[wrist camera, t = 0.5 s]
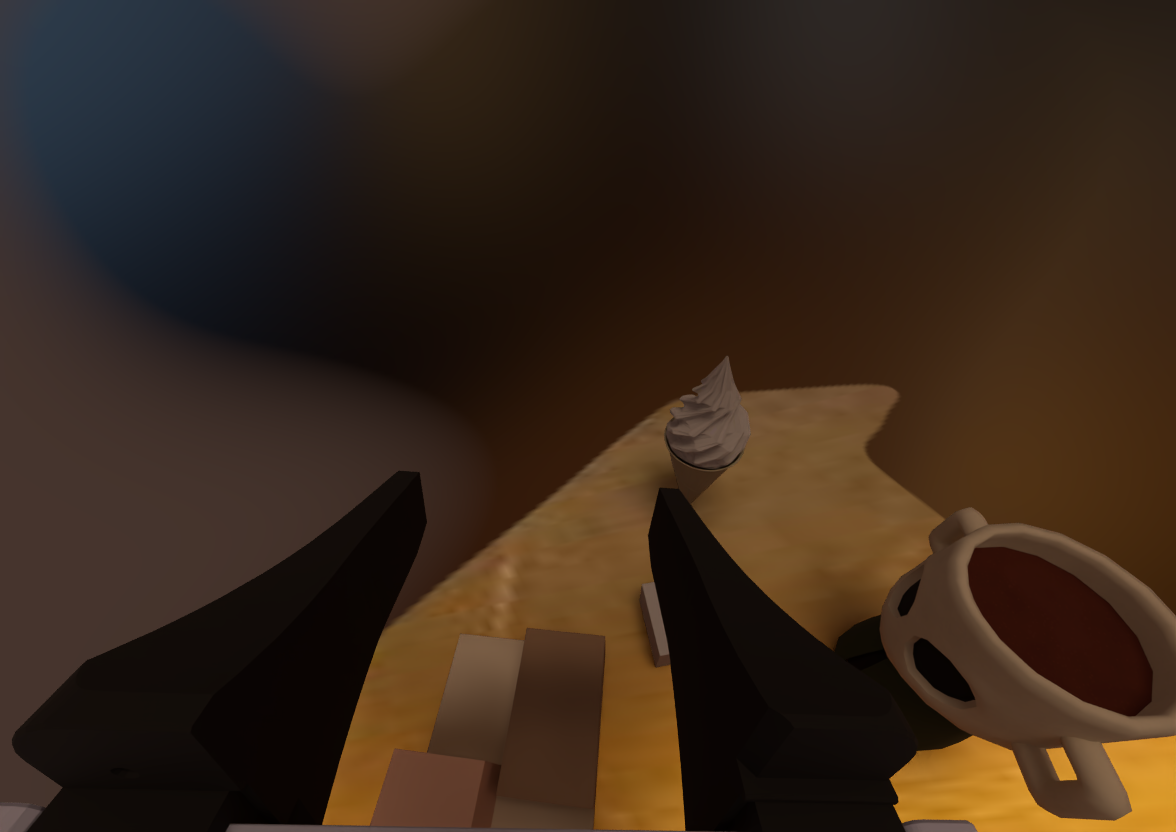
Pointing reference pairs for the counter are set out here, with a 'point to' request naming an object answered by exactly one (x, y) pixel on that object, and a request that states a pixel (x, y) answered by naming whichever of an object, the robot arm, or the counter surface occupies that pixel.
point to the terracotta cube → (437, 791)
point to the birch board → (493, 726)
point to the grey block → (654, 624)
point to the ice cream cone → (707, 432)
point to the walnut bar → (555, 720)
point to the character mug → (1025, 655)
